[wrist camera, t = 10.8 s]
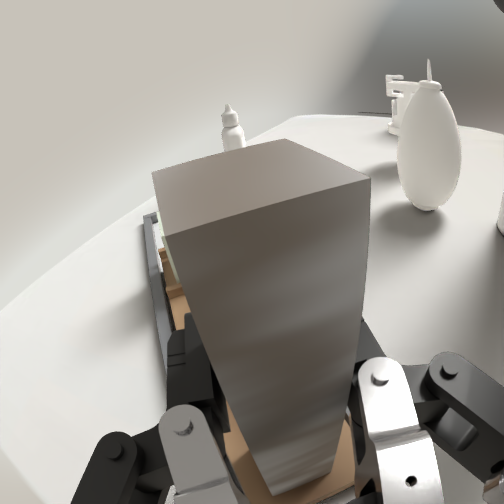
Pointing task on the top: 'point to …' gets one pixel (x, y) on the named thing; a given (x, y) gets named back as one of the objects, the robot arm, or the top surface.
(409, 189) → the sauce bottle
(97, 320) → the top surface
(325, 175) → the wooden board with post
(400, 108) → the white tall plastic piece
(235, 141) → the eye dropper bottle
